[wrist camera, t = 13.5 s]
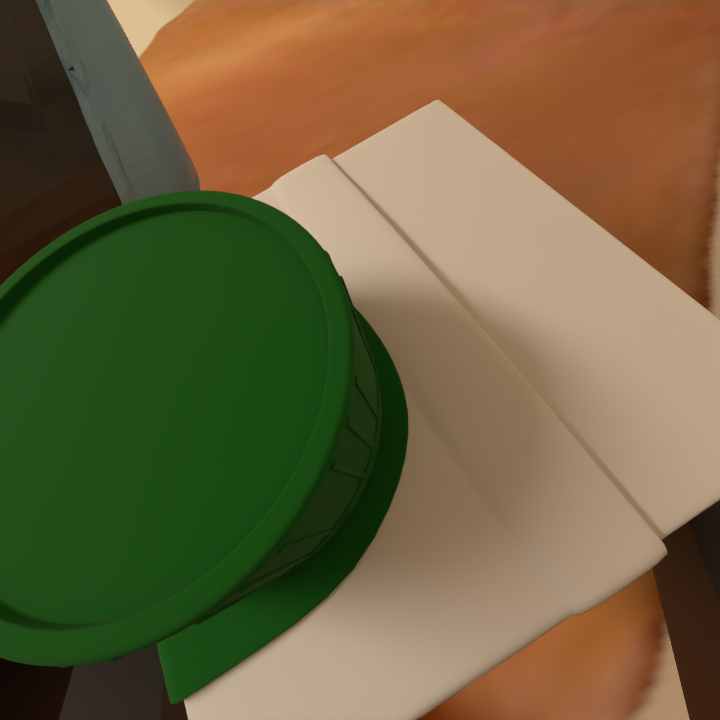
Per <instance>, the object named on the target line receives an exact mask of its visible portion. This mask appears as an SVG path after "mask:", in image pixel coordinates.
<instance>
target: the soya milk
mask: <svg viewBox="0 0 720 720" xmlns="http://www.w3.org/2000/svg"><path fill="white" fill-rule="evenodd" d="M719 500H720V320H719V319H718V318H717V317H716V316H715V315H713V314H712V313H711V312H709V311H708V310H707V309H706V308H704V307H703V306H702V305H701V304H699V303H698V302H697V301H695V300H694V299H693V298H692V297H690V296H689V295H688V294H686V293H685V292H684V291H683V290H681V289H680V288H679V287H678V286H676V285H675V284H674V283H672V282H671V281H670V280H669V279H667V278H666V277H665V276H664V275H662V274H661V273H660V272H658V271H657V270H656V269H655V268H653V267H652V266H651V265H649V264H648V263H647V262H646V261H644V260H643V259H642V258H641V257H639V256H638V255H637V254H635V253H634V252H633V251H632V250H630V249H629V248H628V247H626V246H625V245H624V244H623V243H621V242H620V241H619V240H618V239H616V238H615V237H614V236H612V235H611V234H610V233H609V232H607V231H606V230H605V229H604V228H602V227H601V226H600V225H598V224H597V223H596V222H595V221H593V220H592V219H591V218H589V217H588V216H587V215H586V214H584V213H583V212H582V211H581V210H579V209H578V208H577V207H575V206H574V205H573V204H572V203H570V202H569V201H568V200H566V199H565V198H564V197H563V196H561V195H560V194H559V193H558V192H556V191H555V190H554V189H552V188H551V187H550V186H549V185H547V184H546V183H545V182H544V181H542V180H541V179H540V178H538V177H537V176H536V175H535V174H533V173H532V172H531V171H529V170H528V169H527V168H526V167H524V166H523V165H522V164H521V163H519V162H518V161H517V160H515V159H514V158H513V157H512V156H510V155H509V154H508V153H506V152H505V151H504V150H503V149H501V148H500V147H499V146H498V145H496V144H495V143H494V142H492V141H491V140H490V139H489V138H487V137H486V136H485V135H484V134H482V133H481V132H480V131H478V130H477V129H476V128H475V127H473V126H472V125H471V124H469V123H468V122H467V121H466V120H464V119H463V118H462V117H461V116H459V115H458V114H457V113H455V112H454V111H453V110H452V109H450V108H449V107H448V106H446V105H445V104H444V103H442V102H441V101H439V100H435V101H433V102H432V103H430V104H428V105H426V106H424V107H423V108H421V109H419V110H417V111H415V112H414V113H412V114H410V115H408V116H407V117H405V118H403V119H401V120H400V121H398V122H396V123H394V124H393V125H391V126H389V127H387V128H386V129H384V130H382V131H380V132H379V133H377V134H375V135H373V136H372V137H370V138H368V139H366V140H365V141H363V142H361V143H359V144H358V145H356V146H354V147H352V148H351V149H349V150H347V151H345V152H344V153H342V154H340V155H338V156H337V157H335V158H333V159H330V158H329V157H328V156H326V155H325V154H324V155H321V156H318V157H316V158H314V159H312V160H310V161H308V162H306V163H304V164H302V165H301V166H299V167H297V168H295V169H294V170H292V171H290V172H289V173H287V174H285V175H284V176H282V177H280V178H279V179H278V180H277V181H275V182H274V183H273V185H272V186H271V187H270V188H269V189H267V190H265V191H263V192H262V193H260V194H258V195H256V196H254V197H253V198H249V197H245V196H242V195H237V194H232V193H226V192H217V191H182V192H173V193H166V194H160V195H156V196H151V197H147V198H143V199H140V200H136V201H133V202H130V203H127V204H124V205H121V206H119V207H116V208H114V209H111V210H109V211H106V212H104V213H102V214H100V215H98V216H95V217H93V218H91V219H89V220H88V221H86V222H84V223H82V224H80V225H78V226H77V227H75V228H73V229H71V230H70V231H68V232H66V233H65V234H63V235H62V236H60V237H59V238H57V239H56V240H54V241H53V242H51V243H50V244H49V245H47V246H46V247H44V248H43V249H42V250H40V251H39V252H38V253H36V254H35V255H34V256H33V257H31V258H30V259H29V260H28V261H27V262H25V263H24V264H23V265H22V266H21V267H20V268H18V269H17V270H16V271H15V272H14V273H13V274H12V275H11V276H10V277H9V278H8V279H7V280H6V281H5V282H4V283H3V284H2V285H1V286H0V658H3V659H6V660H10V661H13V662H18V663H23V664H29V665H37V666H53V667H56V666H60V667H69V666H74V665H84V664H90V663H96V662H102V661H105V663H109V662H114V661H116V660H118V659H119V658H121V657H123V656H125V655H128V654H131V653H133V652H136V651H139V650H141V649H144V648H147V647H149V646H152V645H154V644H156V643H157V647H158V653H159V657H160V662H161V666H162V670H163V675H164V679H165V683H166V688H167V692H168V695H169V699H170V703H171V704H176V703H178V702H180V701H182V700H184V703H185V707H186V712H187V716H188V720H418V719H419V718H421V717H422V716H424V715H425V714H427V713H428V712H430V711H431V710H433V709H434V708H436V707H437V706H439V705H440V704H441V703H443V702H444V701H446V700H447V699H449V698H450V697H452V696H453V695H455V694H456V693H458V692H459V691H461V690H462V689H464V688H465V687H467V686H468V685H470V684H471V683H473V682H474V681H476V680H477V679H479V678H480V677H482V676H483V675H485V674H486V673H488V672H489V671H491V670H492V669H494V668H495V667H497V666H498V665H500V664H501V663H503V662H504V661H506V660H507V659H509V658H510V657H512V656H513V655H515V654H516V653H518V652H519V651H520V650H522V649H523V648H525V647H526V646H528V645H529V644H531V643H532V642H534V641H535V640H537V639H538V638H539V637H541V636H542V635H544V634H545V633H547V632H548V631H550V630H551V629H552V628H554V627H555V626H557V625H558V624H560V623H561V622H562V621H564V620H565V619H567V618H568V617H570V616H572V615H580V614H582V613H584V612H587V611H589V610H591V609H593V608H594V607H596V606H597V605H599V604H601V603H602V602H604V601H605V600H607V599H608V598H610V597H611V596H613V595H614V594H616V593H617V592H619V591H620V590H622V589H623V588H625V587H626V586H628V585H629V584H631V583H632V582H633V581H635V580H636V579H637V578H639V577H640V576H642V575H643V574H644V573H646V572H647V571H648V570H650V569H651V568H653V567H654V566H655V565H657V564H658V563H659V562H660V561H661V560H662V559H663V558H664V557H665V556H666V555H667V549H666V547H665V545H664V543H663V542H662V541H661V540H662V539H664V538H665V537H666V536H668V535H669V534H671V533H672V532H674V531H675V530H677V529H678V528H680V527H681V526H682V525H684V524H685V523H687V522H688V521H690V520H691V519H693V518H694V517H696V516H697V515H698V514H700V513H701V512H703V511H704V510H706V509H707V508H709V507H710V506H712V505H713V504H714V503H716V502H717V501H719Z"/></svg>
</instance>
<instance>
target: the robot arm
mask: <svg viewBox="0 0 720 720" xmlns="http://www.w3.org/2000/svg"><path fill="white" fill-rule="evenodd" d="M182 191H200V182H199V177H198V174H197V171H196V169H195V167H194V165H193V162H192V160H191V158H190V156H189V154H188V152H187V150H186V148H185V146H184V144H183V142H182V140H181V138H180V136H179V134H178V132H177V130H176V129H175V127H174V125H173V123H172V121H171V119H170V117H169V115H168V113H167V111H166V109H165V107H164V106H163V104H162V102H161V100H160V98H159V96H158V94H157V92H156V90H155V88H154V87H153V85H152V83H151V81H150V79H149V77H148V75H147V73H146V71H145V70H144V68H143V66H142V64H141V62H140V60H139V59H138V57H137V55H136V53H135V51H134V49H133V48H132V45H131V44H130V42H129V40H128V38H127V36H126V34H125V32H124V31H123V29H122V27H121V25H120V23H119V22H118V20H117V18H116V16H115V14H114V12H113V11H112V9H111V7H110V5H109V3H108V2H107V0H0V286H1V285H2V284H3V283H4V282H5V281H6V280H7V279H8V278H9V277H10V276H11V275H12V274H13V273H14V272H15V271H16V270H17V269H18V268H20V267H21V266H22V265H23V264H24V263H25V262H27V261H28V260H29V259H30V258H31V257H33V256H34V255H35V254H36V253H38V252H39V251H40V250H42V249H43V248H44V247H46V246H47V245H49V244H50V243H51V242H53V241H54V240H56V239H57V238H59V237H60V236H62V235H63V234H65V233H66V232H68V231H70V230H71V229H73V228H75V227H77V226H78V225H80V224H82V223H84V222H86V221H88V220H89V219H91V218H93V217H95V216H98V215H100V214H102V213H104V212H106V211H109V210H111V209H114V208H116V207H119V206H121V205H124V204H127V203H130V202H133V201H136V200H140V199H143V198H147V197H151V196H156V195H160V194H166V193H173V192H182ZM661 541H662V542H663V543H664V545H665V547H666V549H667V555H666V556H665V557H664V558H663V559H662V560H661V561H660V562H659V563H658V564H657V565H655V566H654V567H653V571H654V575H655V579H656V584H657V588H658V592H659V596H660V600H661V604H662V608H663V612H664V616H665V620H666V624H667V629H668V633H669V637H670V641H671V645H672V649H673V653H674V657H675V661H676V665H677V669H678V673H679V677H680V682H681V686H682V690H683V694H684V698H685V702H686V706H687V710H688V714H689V718H690V720H720V500H719V501H717V502H716V503H714V504H713V505H712V506H710V507H709V508H707V509H706V510H704V511H703V512H701V513H700V514H698V515H697V516H696V517H694V518H693V519H691V520H690V521H688V522H687V523H685V524H684V525H682V526H681V527H680V528H678V529H677V530H675V531H674V532H672V533H671V534H669V535H668V536H666V537H665V538H664V539H662V540H661ZM0 720H188V716H187V712H186V707H185V703H184V700H182V701H180V702H178V703H176V704H171V703H170V699H169V695H168V692H167V688H166V683H165V679H164V675H163V670H162V666H161V662H160V657H159V653H158V647H157V643H156V644H154V645H152V646H149V647H147V648H144V649H141V650H139V651H136V652H133V653H131V654H128V655H125V656H123V657H121V658H119V659H118V660H116V661H114V662H109V663H105V661H102V662H96V663H90V664H84V665H74V666H69V667H60V666H56V667H53V666H37V665H29V664H23V663H18V662H13V661H10V660H6V659H3V658H0Z"/></svg>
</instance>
